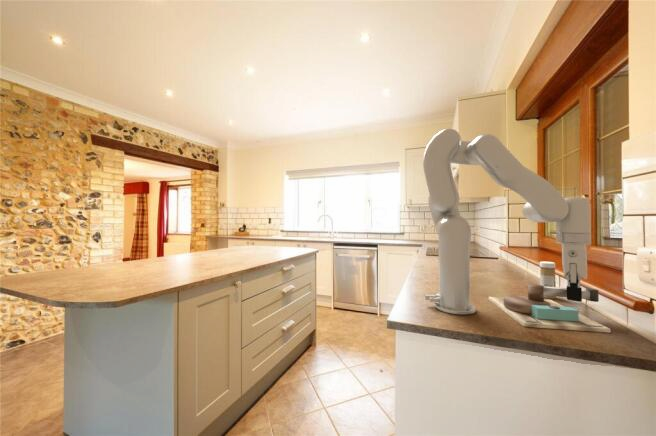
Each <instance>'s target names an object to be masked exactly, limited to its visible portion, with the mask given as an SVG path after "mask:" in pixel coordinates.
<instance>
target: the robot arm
mask: <svg viewBox="0 0 656 436" xmlns="http://www.w3.org/2000/svg"><path fill="white" fill-rule="evenodd" d="M422 164H423V165H422V166H423V172H424V177H425V181H426V185H427V191H428V193H429V195H428V201H427V202H428V207H429V210H430V213H431V217H432V222H433V224H434V227H435V228H434V229H435V230H436V233H437V235H438V291H436V293H434V294H424V301H429V302H430V303H431V302H432V303H433V304H434V305H433V306H434V307H435V308H436V309H437V310H438V311H441V312H444V313H447V314H453V315H462V316H463V315H473V314H474V313H476V312H477V308H476V306H475V305H474V304H472V303H471V258H470V257H471V251H470V250H471V242H472V241H471V240H472V229H471V225H470V223H469V221H468V220H467V219H466V218H464V217H463V216H461V214H460V209H459V203H460V194H459V191H458V188H457V186H456V181H455V179H454V176H453V171H452V167H451V164H456V165H466V166H467V165H468V166H480V167H482V169H484V171H485V172H486V173H487V174H488V176H489V177H490V178H491V179H493V181H494V182H495V183H496V184H497V185H499V186H500V187H503V188H505V189H508V190H510V191H513V192H515V193H516V194H518V195H519V196H521V197H522V199H524V200H525V201H526V203H525V204H524V205H523V207H522V208H521V209H522V210H521V212H522V215H523V216H524V218H525V219H526V220H528V221H530V222H532V223H555V232H556V233H555V239H556V240H555V241H556V244H561V261H562V262H561V263H562V271H563V276H564V277H565V278H567V279H566V280H567V285H566V288H567V297H566V300H568V301H572V302H579V303H581V302H583V299H582V290H583V289H582V286H581V278H583V279H584V280H587V279H588V252H587V246H588V245H592V232H591V231H592V230H591V228H592V226H591V218H592V217H591V200H589V198H587V197H584V196H583V197H581V196H580V197H577V196H576V197H574V196H573V197H564V196H563V195H562V193H560V192H559V191H558V190H557V189H556V188H555V187H554V186H553V185H552V183H550V181H548V180H546V179H545V178H544V177H542V176H541V175H539V174H537V173H536V172H534V170H531V169H529V168H527V167H526V166H525V165H523V163H521V162H520V161H519V160H518V158H516V156H515V155H514V154H512V152H511V151H510V150H509V149H508V148H507V147H506V146H505V145H504V144H503V142H502V141H501V140H500V139H499V138H498V137H496V136H495V135H494V134H491V133H483V134H480V135H478V136H477V137H475V138H474V139H473V140H471V141H470V140H469V141H467V140H462V137H461V134H460V133H459V132H458V131H457V130H456V129H454V128H444V129H443V130H440V131H439V132H438V133H436V134H434V136H433V137H432V138H431V140H430V141H429V143H428V144H427V145H426V148H425V151H424V154H423V163H422Z"/></svg>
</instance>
